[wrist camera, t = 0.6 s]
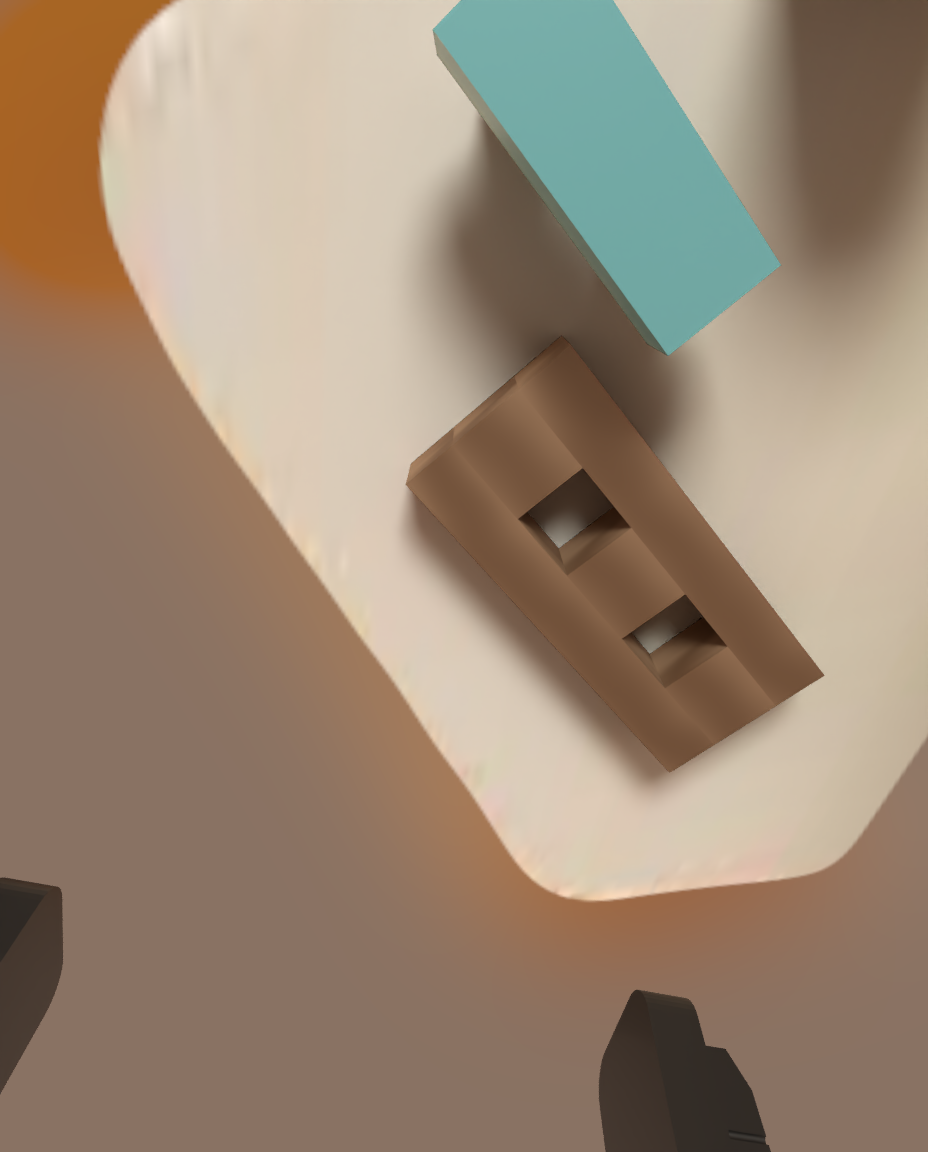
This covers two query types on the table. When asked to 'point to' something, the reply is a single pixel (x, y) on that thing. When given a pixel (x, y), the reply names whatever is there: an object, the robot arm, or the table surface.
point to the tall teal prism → (609, 157)
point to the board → (611, 559)
